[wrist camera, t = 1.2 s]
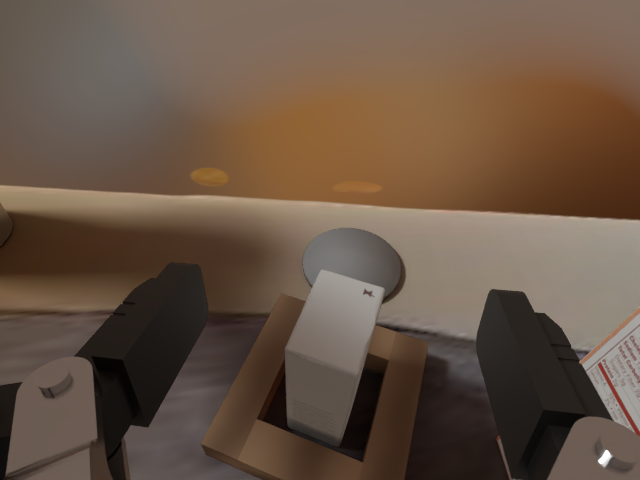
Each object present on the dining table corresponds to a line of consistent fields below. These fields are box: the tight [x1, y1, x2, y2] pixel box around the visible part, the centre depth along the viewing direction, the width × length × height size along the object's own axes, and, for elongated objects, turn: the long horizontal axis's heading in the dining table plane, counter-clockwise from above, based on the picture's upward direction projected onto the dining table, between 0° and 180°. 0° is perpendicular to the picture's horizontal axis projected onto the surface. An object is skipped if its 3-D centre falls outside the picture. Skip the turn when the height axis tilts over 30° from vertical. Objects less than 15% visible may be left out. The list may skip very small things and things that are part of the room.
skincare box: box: [285, 270, 385, 447], centre depth 26 cm, size 6×4×12 cm
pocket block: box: [201, 293, 429, 480], centre depth 29 cm, size 13×13×2 cm
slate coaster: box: [303, 228, 401, 300], centre depth 39 cm, size 10×10×1 cm
